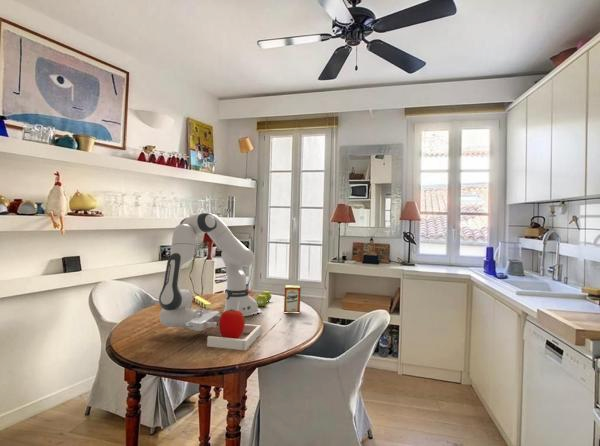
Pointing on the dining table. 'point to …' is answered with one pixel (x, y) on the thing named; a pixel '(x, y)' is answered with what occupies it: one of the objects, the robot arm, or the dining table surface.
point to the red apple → (231, 324)
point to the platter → (202, 302)
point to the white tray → (236, 343)
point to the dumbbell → (263, 298)
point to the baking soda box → (292, 298)
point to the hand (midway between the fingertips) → (221, 321)
